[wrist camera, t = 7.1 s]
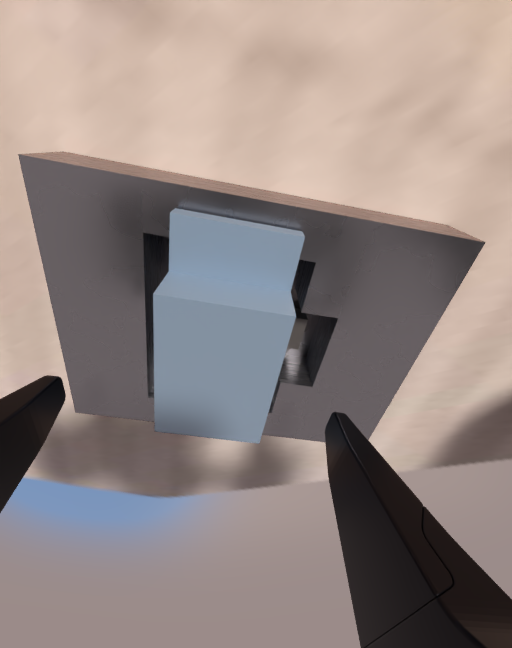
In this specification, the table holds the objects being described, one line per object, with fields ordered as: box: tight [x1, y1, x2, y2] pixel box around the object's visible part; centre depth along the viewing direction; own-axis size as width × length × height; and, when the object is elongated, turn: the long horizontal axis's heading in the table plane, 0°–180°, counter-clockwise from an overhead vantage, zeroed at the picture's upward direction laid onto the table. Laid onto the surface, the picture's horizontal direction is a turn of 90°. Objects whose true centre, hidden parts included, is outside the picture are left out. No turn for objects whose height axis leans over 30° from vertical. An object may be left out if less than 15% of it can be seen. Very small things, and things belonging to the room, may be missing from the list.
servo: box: [153, 208, 308, 444], centre depth 13 cm, size 6×10×5 cm, turn 170°
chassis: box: [18, 152, 485, 442], centre depth 14 cm, size 16×12×2 cm
